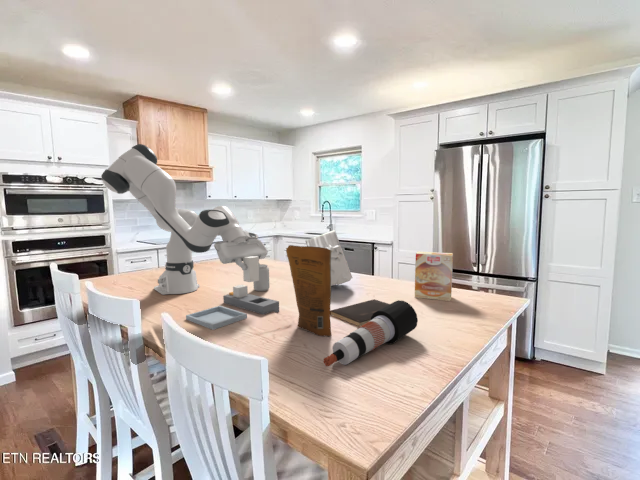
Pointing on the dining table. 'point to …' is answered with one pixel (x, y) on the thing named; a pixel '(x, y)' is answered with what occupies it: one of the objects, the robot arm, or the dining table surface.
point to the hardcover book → (359, 311)
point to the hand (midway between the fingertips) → (252, 268)
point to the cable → (375, 333)
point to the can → (262, 279)
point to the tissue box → (333, 256)
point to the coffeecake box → (433, 275)
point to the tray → (216, 317)
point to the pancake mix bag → (312, 287)
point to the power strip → (250, 301)
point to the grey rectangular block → (251, 269)
